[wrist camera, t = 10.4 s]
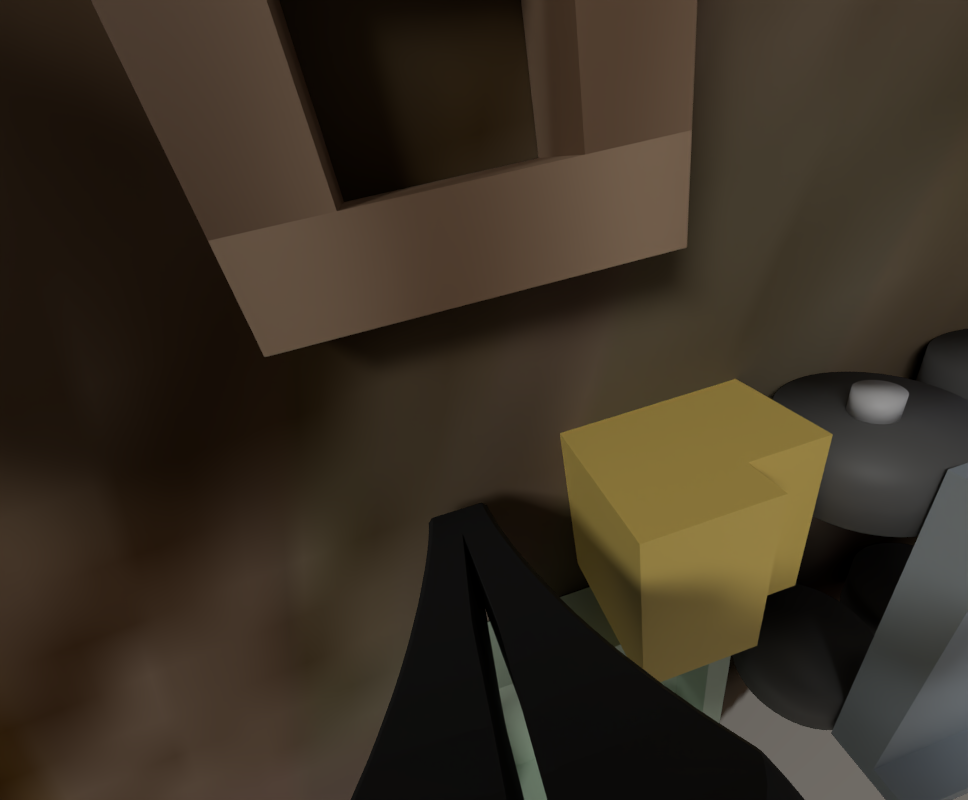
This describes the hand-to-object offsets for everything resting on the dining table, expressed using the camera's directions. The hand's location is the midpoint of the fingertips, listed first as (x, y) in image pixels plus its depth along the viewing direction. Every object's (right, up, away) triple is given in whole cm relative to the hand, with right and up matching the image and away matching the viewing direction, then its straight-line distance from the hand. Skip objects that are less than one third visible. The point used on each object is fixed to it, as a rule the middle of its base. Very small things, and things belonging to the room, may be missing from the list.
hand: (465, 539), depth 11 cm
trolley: (+13, 0, +4) cm, 13 cm away
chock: (+5, +1, +2) cm, 6 cm away
